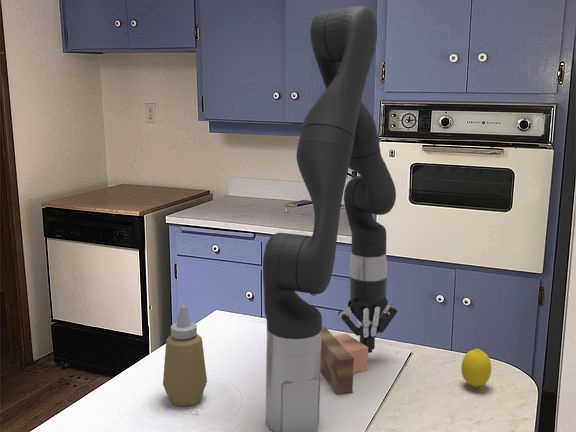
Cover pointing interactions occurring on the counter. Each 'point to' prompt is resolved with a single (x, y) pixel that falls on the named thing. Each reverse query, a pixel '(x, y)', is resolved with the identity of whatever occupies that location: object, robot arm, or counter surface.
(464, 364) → the lemon
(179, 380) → the squeeze bottle
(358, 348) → the terracotta block
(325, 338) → the walnut plank
